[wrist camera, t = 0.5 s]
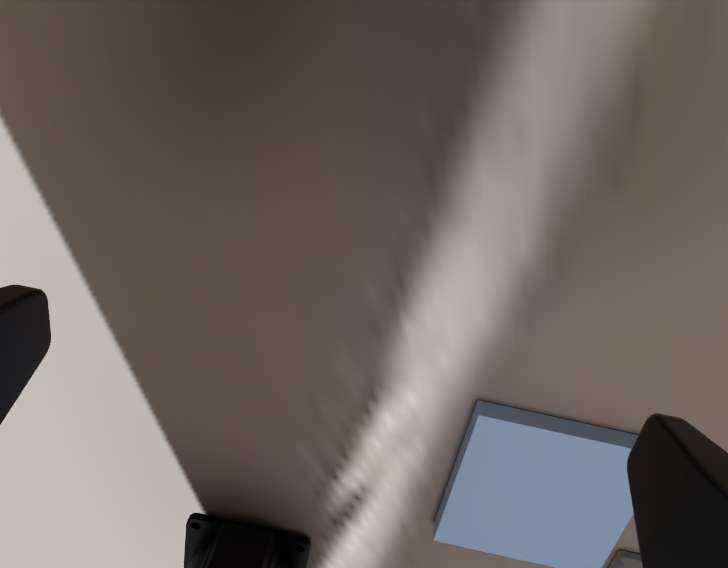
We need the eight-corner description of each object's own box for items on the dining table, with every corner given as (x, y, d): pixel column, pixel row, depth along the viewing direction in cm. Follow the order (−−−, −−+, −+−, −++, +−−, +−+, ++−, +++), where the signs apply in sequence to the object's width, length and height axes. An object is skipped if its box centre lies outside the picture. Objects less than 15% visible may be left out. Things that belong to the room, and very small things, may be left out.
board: (591, 558, 29) (596, 576, 28) (433, 523, 29) (433, 540, 29) (659, 439, 26) (666, 456, 25) (477, 400, 26) (478, 415, 25)
